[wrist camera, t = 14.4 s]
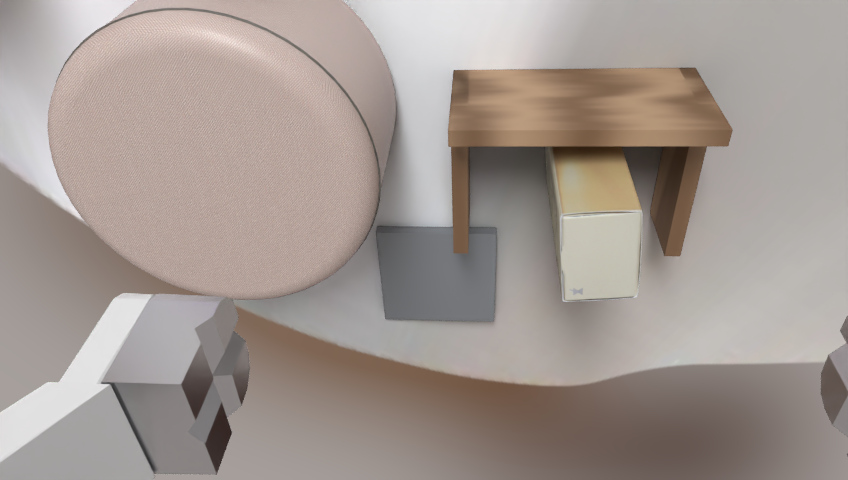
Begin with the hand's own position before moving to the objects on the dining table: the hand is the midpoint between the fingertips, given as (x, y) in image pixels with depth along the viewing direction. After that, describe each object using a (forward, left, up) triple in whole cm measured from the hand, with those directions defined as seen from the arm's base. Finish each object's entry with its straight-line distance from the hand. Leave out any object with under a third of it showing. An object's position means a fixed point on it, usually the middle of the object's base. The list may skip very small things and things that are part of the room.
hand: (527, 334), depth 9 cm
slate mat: (+4, +28, -34) cm, 44 cm away
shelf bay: (-5, +16, -34) cm, 38 cm away
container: (+15, +12, -34) cm, 40 cm away
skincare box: (-6, +17, -34) cm, 39 cm away
